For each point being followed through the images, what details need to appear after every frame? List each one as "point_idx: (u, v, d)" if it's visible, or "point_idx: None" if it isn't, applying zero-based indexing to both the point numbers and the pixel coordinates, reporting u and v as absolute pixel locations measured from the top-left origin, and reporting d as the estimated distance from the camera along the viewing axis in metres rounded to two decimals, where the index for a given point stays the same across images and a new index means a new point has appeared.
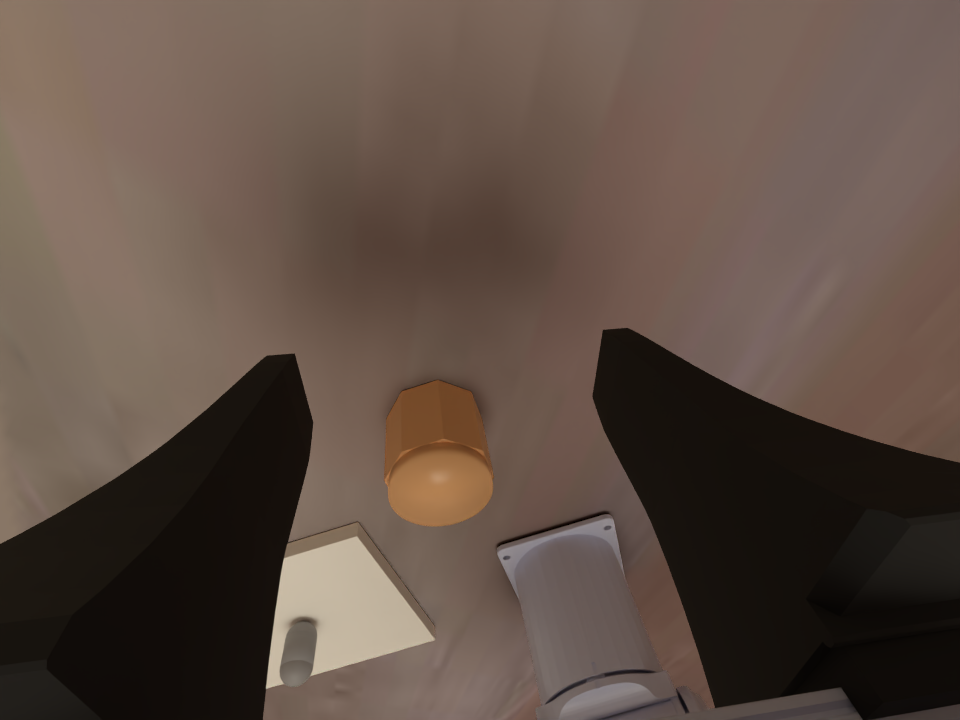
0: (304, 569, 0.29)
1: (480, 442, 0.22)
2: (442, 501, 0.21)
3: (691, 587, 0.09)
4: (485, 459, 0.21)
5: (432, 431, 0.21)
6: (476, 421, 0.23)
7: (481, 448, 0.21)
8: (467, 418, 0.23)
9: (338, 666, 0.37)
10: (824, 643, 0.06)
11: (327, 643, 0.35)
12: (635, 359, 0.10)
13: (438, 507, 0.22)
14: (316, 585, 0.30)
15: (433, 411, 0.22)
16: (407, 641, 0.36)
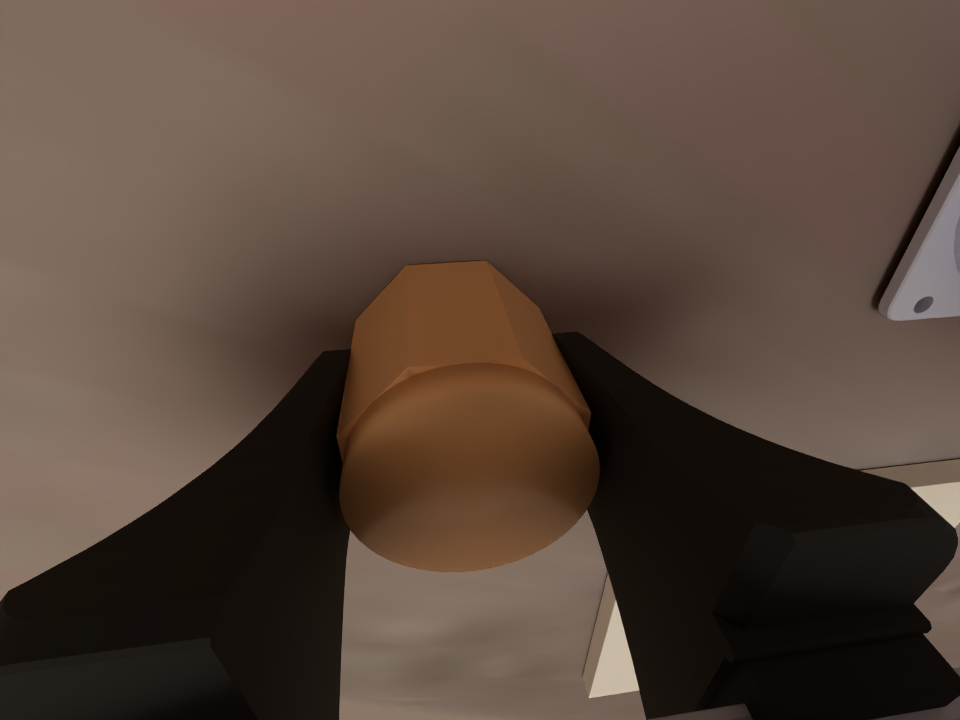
0: None
1: (407, 352, 0.08)
2: (504, 496, 0.09)
3: (625, 596, 0.08)
4: (442, 367, 0.08)
5: None
6: (406, 312, 0.09)
7: (406, 365, 0.08)
8: (389, 329, 0.10)
9: None
10: (727, 658, 0.06)
11: None
12: (577, 364, 0.10)
13: (520, 505, 0.09)
14: None
15: None
16: (949, 512, 0.19)
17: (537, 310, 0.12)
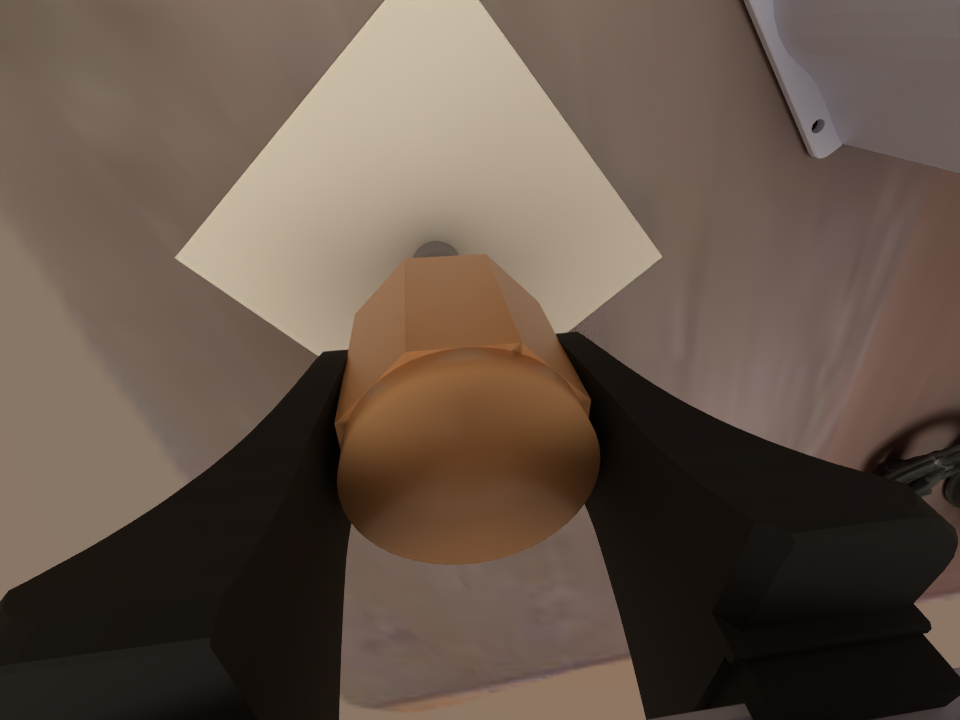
0: (380, 90, 0.16)
1: (405, 337, 0.08)
2: (503, 484, 0.09)
3: (625, 596, 0.08)
4: (440, 352, 0.08)
5: None
6: (405, 301, 0.09)
7: (404, 349, 0.08)
8: (388, 319, 0.10)
9: None
10: (727, 658, 0.06)
11: None
12: (577, 364, 0.10)
13: (520, 494, 0.09)
14: (418, 138, 0.17)
15: None
16: (616, 272, 0.21)
17: (536, 304, 0.12)
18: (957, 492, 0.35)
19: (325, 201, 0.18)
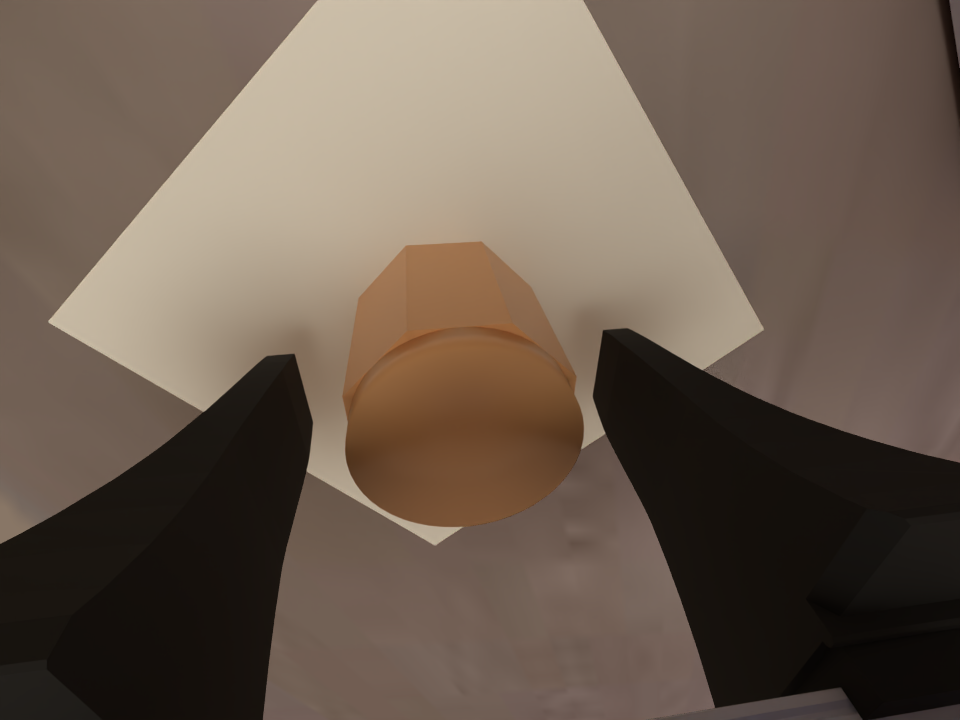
0: (374, 76, 0.10)
1: (407, 318, 0.09)
2: (496, 452, 0.09)
3: (691, 587, 0.09)
4: (439, 331, 0.09)
5: None
6: (406, 285, 0.10)
7: (406, 329, 0.09)
8: (390, 301, 0.10)
9: None
10: (824, 643, 0.06)
11: None
12: (635, 359, 0.10)
13: (511, 462, 0.10)
14: (431, 154, 0.11)
15: None
16: (698, 348, 0.15)
17: (529, 289, 0.13)
18: None
19: (283, 244, 0.12)
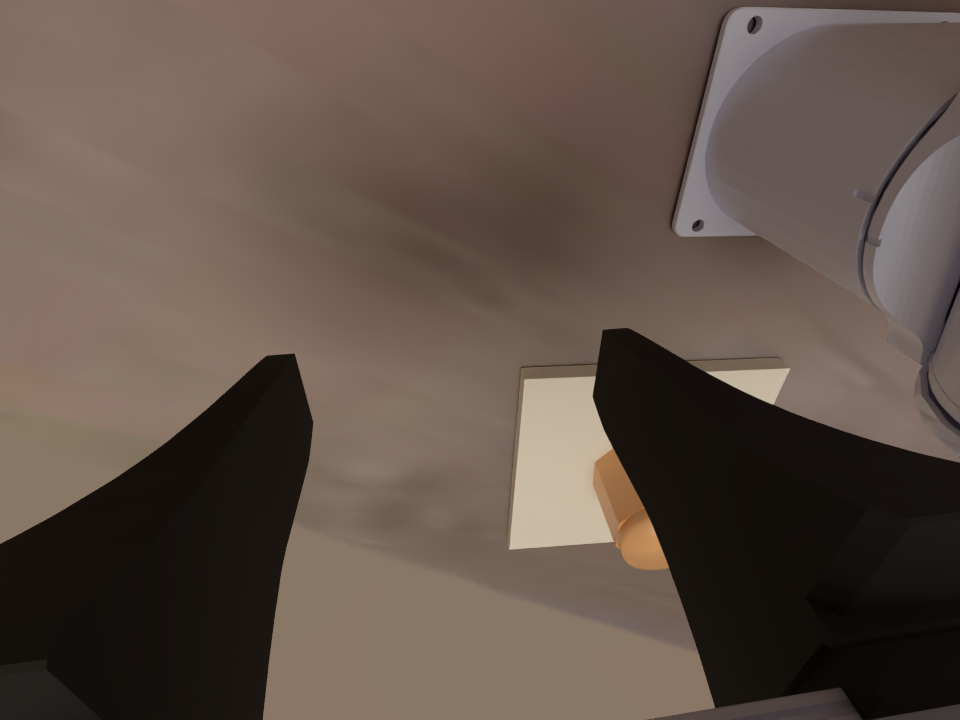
0: (547, 438, 0.26)
1: (616, 515, 0.25)
2: None
3: (691, 587, 0.09)
4: (628, 518, 0.24)
5: None
6: (607, 493, 0.26)
7: (618, 522, 0.24)
8: (606, 500, 0.26)
9: None
10: (824, 643, 0.06)
11: None
12: (635, 359, 0.10)
13: None
14: (580, 438, 0.26)
15: None
16: (761, 397, 0.26)
17: None
18: None
19: (556, 489, 0.29)
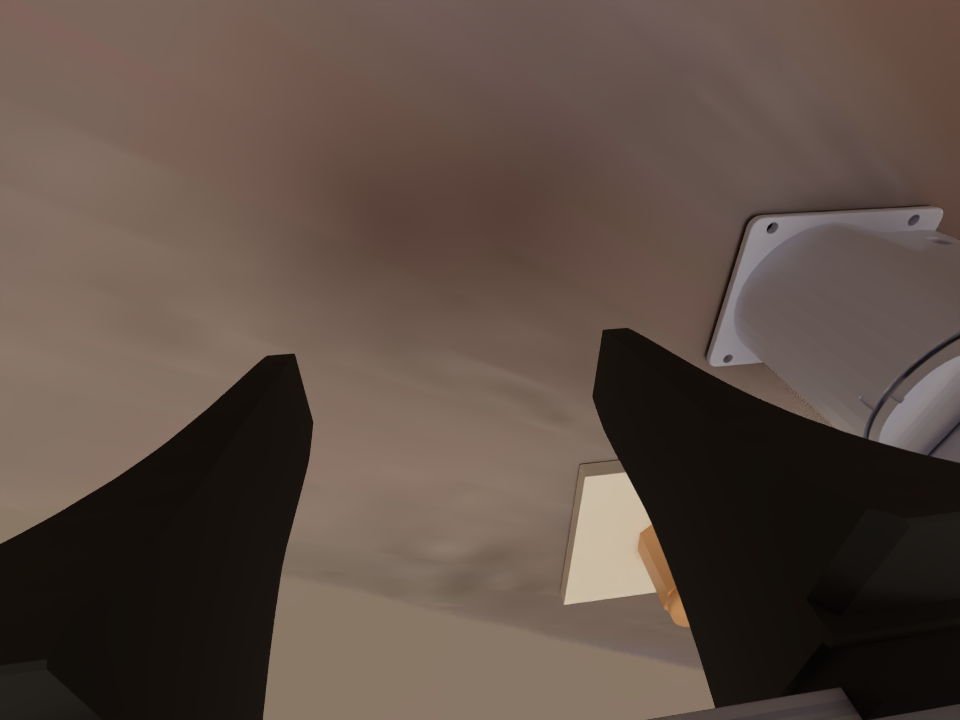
0: (601, 518, 0.31)
1: (664, 584, 0.29)
2: None
3: (691, 587, 0.09)
4: (676, 588, 0.29)
5: None
6: (654, 563, 0.31)
7: (667, 591, 0.29)
8: (653, 568, 0.31)
9: None
10: (824, 643, 0.06)
11: None
12: (635, 359, 0.10)
13: None
14: (628, 516, 0.31)
15: None
16: None
17: None
18: None
19: (606, 555, 0.33)
